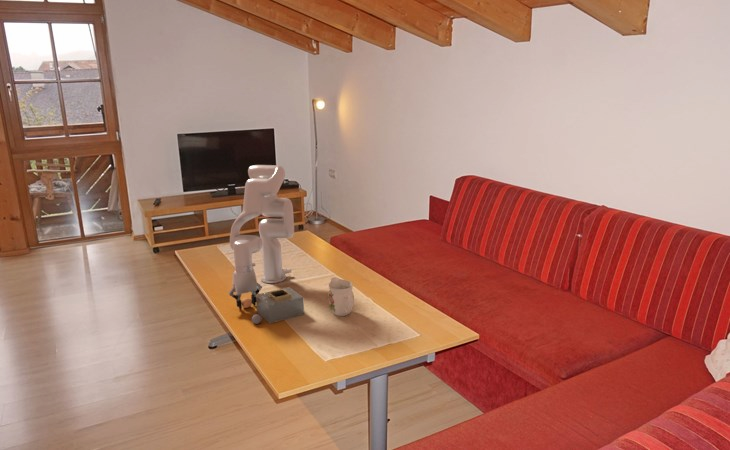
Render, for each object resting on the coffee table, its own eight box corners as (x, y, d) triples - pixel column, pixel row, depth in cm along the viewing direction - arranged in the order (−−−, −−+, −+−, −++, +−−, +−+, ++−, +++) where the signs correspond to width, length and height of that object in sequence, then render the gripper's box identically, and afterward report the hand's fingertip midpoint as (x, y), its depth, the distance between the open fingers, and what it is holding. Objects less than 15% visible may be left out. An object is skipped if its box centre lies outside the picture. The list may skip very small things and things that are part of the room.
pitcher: (339, 324, 225) (338, 293, 221) (322, 308, 240) (321, 279, 236) (363, 319, 229) (362, 288, 226) (345, 303, 245) (344, 275, 241)
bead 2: (260, 313, 229) (251, 312, 227) (264, 316, 226) (255, 315, 223) (257, 322, 229) (249, 321, 227) (261, 325, 226) (252, 324, 224)
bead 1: (249, 304, 246) (249, 295, 244) (253, 307, 242) (252, 298, 241) (240, 306, 243) (239, 297, 242) (243, 310, 240) (243, 300, 238)
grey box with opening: (290, 303, 246) (289, 284, 244) (304, 314, 235) (303, 294, 232) (257, 311, 238) (255, 292, 235) (269, 323, 227) (268, 303, 224)
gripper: (259, 261, 245) (261, 298, 250) (221, 269, 236) (225, 307, 241) (265, 266, 239) (268, 304, 244) (227, 274, 230) (230, 313, 235)
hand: (246, 305), depth 242 cm, fingers open, 5 cm apart
